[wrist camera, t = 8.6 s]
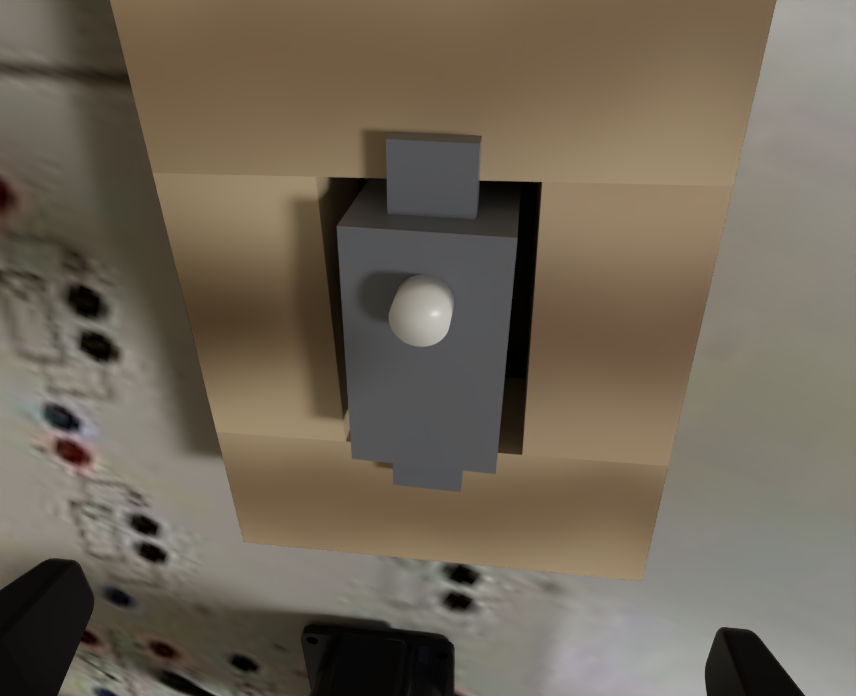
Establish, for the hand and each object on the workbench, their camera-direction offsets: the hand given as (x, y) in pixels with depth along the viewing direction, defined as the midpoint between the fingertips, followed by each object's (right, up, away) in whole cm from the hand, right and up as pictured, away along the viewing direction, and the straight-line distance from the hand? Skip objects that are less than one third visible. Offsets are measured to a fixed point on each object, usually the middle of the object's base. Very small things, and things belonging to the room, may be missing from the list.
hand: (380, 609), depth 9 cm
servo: (+1, +6, +9) cm, 11 cm away
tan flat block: (+1, +6, +9) cm, 11 cm away
